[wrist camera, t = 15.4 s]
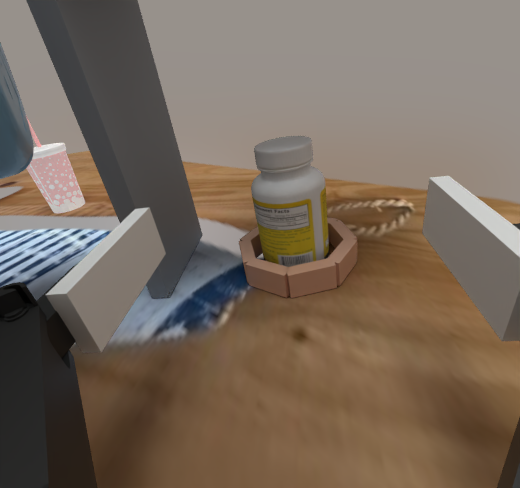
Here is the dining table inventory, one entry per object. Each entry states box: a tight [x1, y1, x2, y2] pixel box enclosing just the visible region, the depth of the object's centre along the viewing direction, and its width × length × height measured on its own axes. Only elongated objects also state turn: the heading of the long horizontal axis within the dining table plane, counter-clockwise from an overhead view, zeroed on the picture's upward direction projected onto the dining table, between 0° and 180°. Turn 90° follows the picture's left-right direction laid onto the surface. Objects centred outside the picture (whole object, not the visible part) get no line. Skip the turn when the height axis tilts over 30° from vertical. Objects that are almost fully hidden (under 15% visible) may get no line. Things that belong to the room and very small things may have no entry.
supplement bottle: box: [251, 136, 329, 267], centre depth 24 cm, size 5×5×10 cm
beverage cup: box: [26, 116, 85, 213], centre depth 44 cm, size 6×6×14 cm
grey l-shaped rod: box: [27, 0, 202, 298], centre depth 22 cm, size 10×20×22 cm, turn 84°
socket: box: [239, 217, 357, 298], centre depth 26 cm, size 9×9×2 cm
